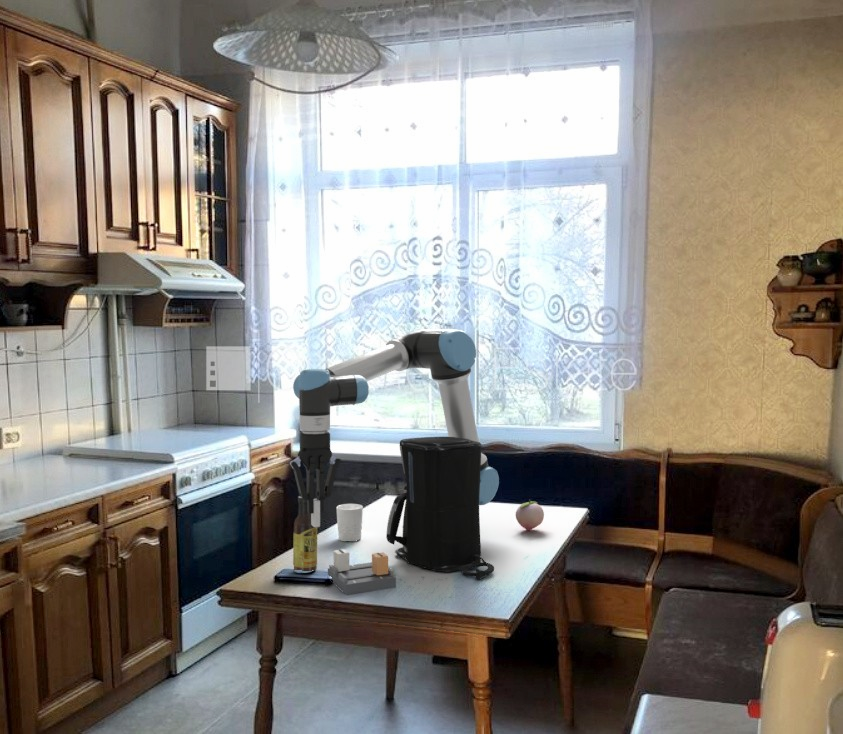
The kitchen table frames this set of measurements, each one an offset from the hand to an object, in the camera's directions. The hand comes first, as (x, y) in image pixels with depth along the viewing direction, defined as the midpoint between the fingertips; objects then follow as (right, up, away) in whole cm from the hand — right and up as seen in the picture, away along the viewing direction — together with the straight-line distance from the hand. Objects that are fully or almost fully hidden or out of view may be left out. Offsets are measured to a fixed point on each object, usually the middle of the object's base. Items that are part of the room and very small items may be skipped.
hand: (315, 525), depth 199 cm
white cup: (+5, -13, +42) cm, 44 cm away
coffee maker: (+30, -14, +18) cm, 38 cm away
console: (+11, -15, +2) cm, 19 cm away
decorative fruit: (+60, -12, +50) cm, 80 cm away
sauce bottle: (-4, -15, +12) cm, 19 cm away
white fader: (+6, -12, +4) cm, 14 cm away
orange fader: (+16, -12, +1) cm, 20 cm away
